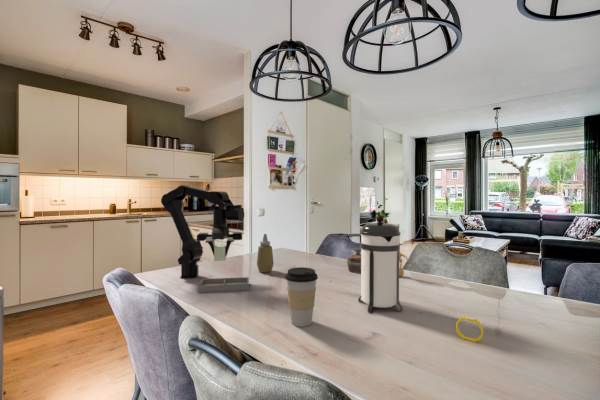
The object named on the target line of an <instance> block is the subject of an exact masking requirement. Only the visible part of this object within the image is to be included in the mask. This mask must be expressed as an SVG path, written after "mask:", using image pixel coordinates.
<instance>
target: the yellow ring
mask: <svg viewBox="0 0 600 400" xmlns="http://www.w3.org/2000/svg"><path fill="white" fill-rule="evenodd" d="M462 321H467V322H471V323H475V324H476V325H478V328H479V329H480V335H479V337H475V338H473V337H469V336H465V335H464V334H463V333H462V332H461V330H460V328H459V323H460V322H462ZM455 330H456V333H457V335H458V336H459V337H460V338H461V339H463V340H466V341H469V342H472V343H473V342H474V343H477V342H479V341H481V339H482V338H483V336H484V327H483V326H482V323H481V322H480V321H479V320H477V318H476V317H475V316H474V315H472V314H464V315H463V316H462V317H460V318H459V319H458V320H457V321H456V324H455Z"/></svg>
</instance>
